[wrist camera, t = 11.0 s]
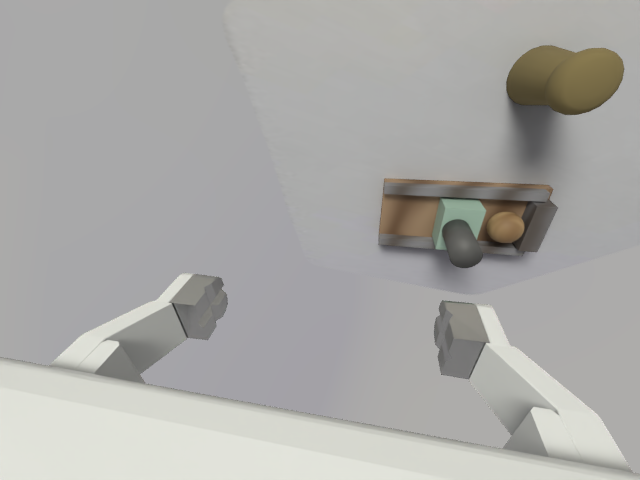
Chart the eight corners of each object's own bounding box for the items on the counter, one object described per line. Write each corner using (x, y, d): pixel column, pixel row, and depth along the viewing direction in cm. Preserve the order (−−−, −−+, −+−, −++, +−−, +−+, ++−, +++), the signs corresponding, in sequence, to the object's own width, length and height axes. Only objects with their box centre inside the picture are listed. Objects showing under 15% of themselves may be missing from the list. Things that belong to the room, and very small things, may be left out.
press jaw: (477, 197, 40) (502, 234, 32) (465, 237, 43) (485, 279, 35) (440, 196, 41) (454, 231, 33) (431, 234, 44) (442, 275, 36)
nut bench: (548, 185, 39) (563, 197, 35) (521, 245, 44) (532, 260, 41) (384, 178, 43) (384, 188, 39) (378, 234, 48) (378, 248, 45)
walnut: (521, 207, 40) (535, 222, 36) (511, 233, 42) (523, 250, 38) (487, 205, 40) (497, 220, 37) (479, 231, 43) (488, 247, 39)
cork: (570, 89, 33) (640, 102, 24) (510, 114, 35) (554, 134, 26) (565, 33, 30) (641, 23, 21) (501, 63, 33) (546, 66, 24)
